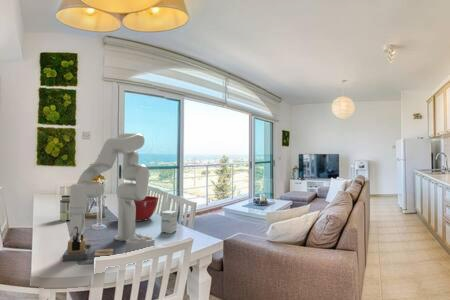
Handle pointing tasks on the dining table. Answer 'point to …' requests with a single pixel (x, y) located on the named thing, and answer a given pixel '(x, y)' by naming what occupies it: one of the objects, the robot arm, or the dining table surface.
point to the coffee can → (65, 210)
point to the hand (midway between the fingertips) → (77, 247)
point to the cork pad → (103, 252)
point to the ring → (82, 245)
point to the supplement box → (169, 221)
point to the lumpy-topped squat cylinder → (139, 242)
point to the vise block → (77, 254)
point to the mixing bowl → (145, 207)
